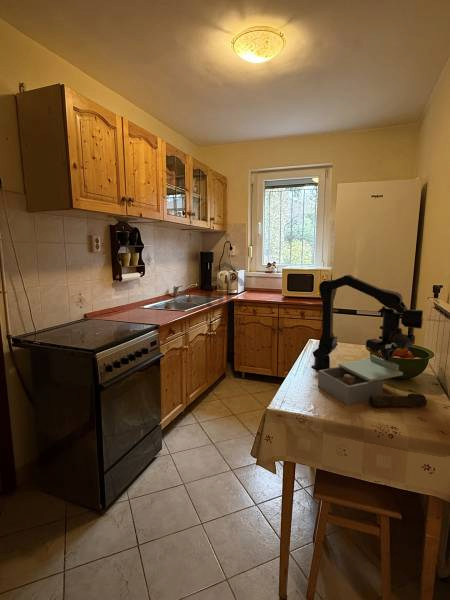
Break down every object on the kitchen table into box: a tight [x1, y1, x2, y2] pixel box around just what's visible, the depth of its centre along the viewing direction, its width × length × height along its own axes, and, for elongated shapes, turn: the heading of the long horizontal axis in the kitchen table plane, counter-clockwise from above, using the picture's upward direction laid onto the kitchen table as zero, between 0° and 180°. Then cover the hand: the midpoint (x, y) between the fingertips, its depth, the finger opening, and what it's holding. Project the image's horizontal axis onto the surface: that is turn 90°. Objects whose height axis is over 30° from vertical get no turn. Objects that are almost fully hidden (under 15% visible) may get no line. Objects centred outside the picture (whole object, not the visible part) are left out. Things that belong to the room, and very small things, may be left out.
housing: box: [317, 366, 384, 406], centre depth 119 cm, size 16×16×6 cm
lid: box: [338, 354, 404, 382], centre depth 122 cm, size 16×16×3 cm
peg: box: [343, 374, 355, 386], centre depth 119 cm, size 4×4×6 cm
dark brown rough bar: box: [368, 393, 428, 409], centre depth 108 cm, size 19×4×5 cm, turn 87°
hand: (387, 363), depth 125 cm, fingers closed
